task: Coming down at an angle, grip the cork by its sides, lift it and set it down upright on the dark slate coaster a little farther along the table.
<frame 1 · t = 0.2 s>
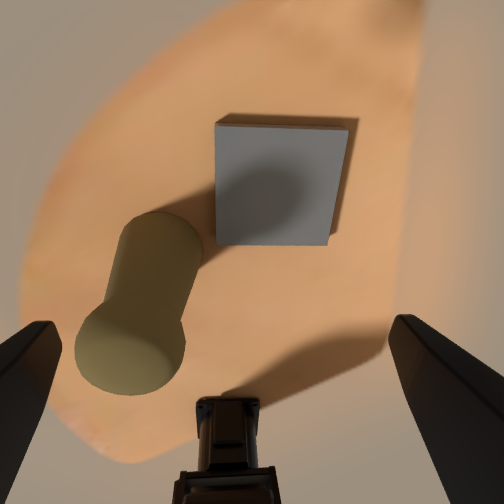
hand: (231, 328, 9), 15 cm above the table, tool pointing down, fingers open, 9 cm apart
cork: (162, 248, 25), on the table
coaster: (275, 186, 23), on the table
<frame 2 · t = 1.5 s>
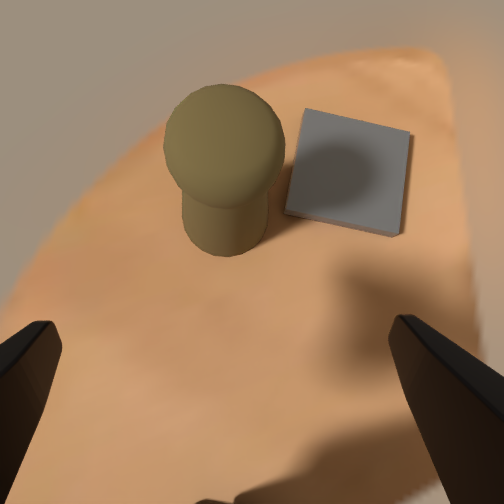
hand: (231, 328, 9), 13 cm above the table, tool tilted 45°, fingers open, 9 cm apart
cork: (225, 215, 24), on the table
coaster: (345, 174, 25), on the table
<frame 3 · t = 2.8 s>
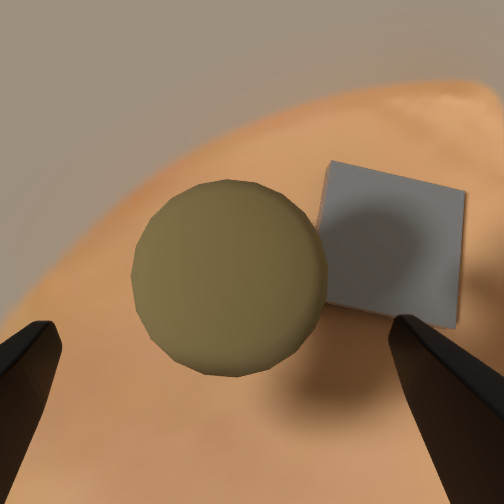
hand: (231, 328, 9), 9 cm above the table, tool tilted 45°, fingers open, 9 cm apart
cork: (229, 301, 18), on the table
coaster: (382, 245, 20), on the table
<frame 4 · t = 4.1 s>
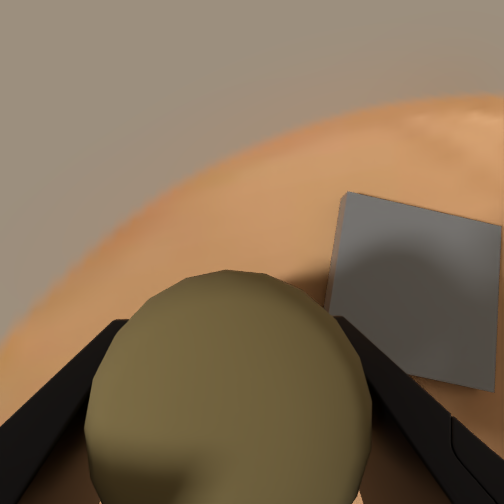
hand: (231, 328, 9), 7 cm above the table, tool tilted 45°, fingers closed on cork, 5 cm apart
cork: (228, 357, 16), on the table, touching gripper
coaster: (406, 289, 17), on the table
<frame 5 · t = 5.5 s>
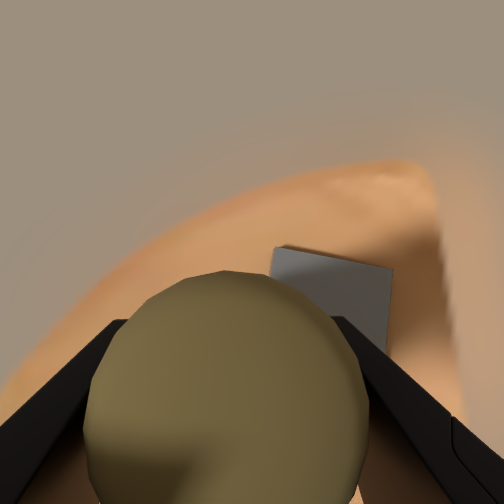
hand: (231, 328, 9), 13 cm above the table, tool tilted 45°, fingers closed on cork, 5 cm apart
cork: (225, 357, 16), point 6 cm above the table, touching gripper
coaster: (322, 318, 22), on the table
when the fingers open (9 cm above the table, at t = 6.9 s): cork stays where it is, resting on coaster.
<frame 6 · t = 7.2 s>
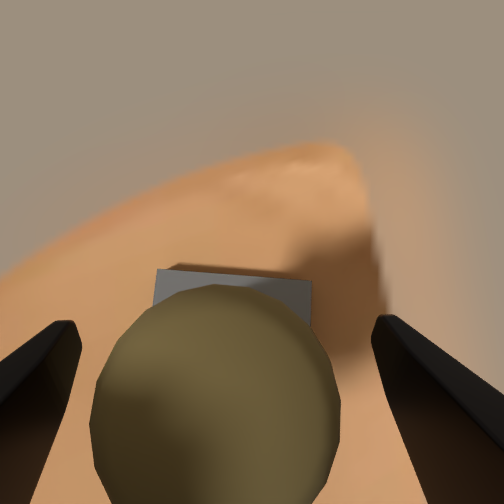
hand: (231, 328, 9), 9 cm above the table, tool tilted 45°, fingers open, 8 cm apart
cork: (223, 359, 17), point 1 cm above the table, touching coaster
coaster: (229, 353, 17), on the table
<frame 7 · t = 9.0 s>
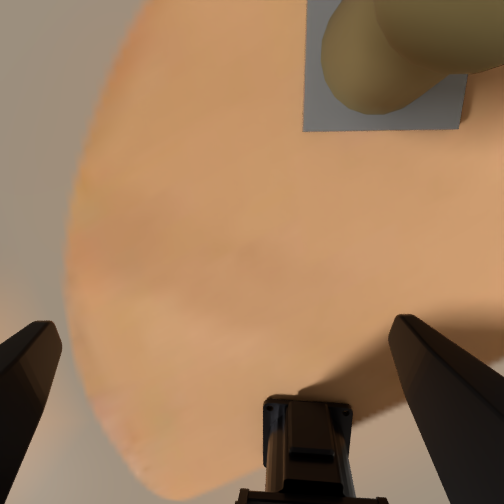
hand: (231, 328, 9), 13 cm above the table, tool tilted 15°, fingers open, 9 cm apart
cork: (381, 50, 17), point 1 cm above the table, touching coaster
coaster: (382, 49, 18), on the table
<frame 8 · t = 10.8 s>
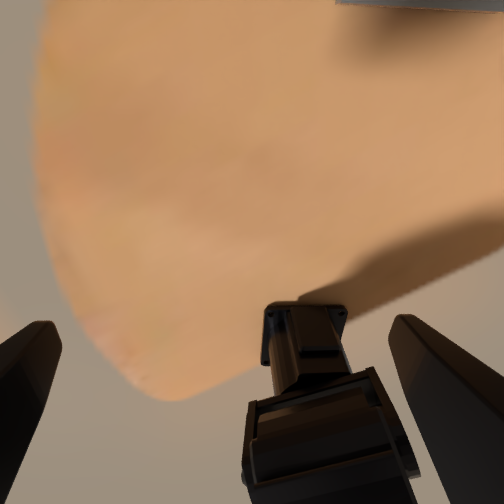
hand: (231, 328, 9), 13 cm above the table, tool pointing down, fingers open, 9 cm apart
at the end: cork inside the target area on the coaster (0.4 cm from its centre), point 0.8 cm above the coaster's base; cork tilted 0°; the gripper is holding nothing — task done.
